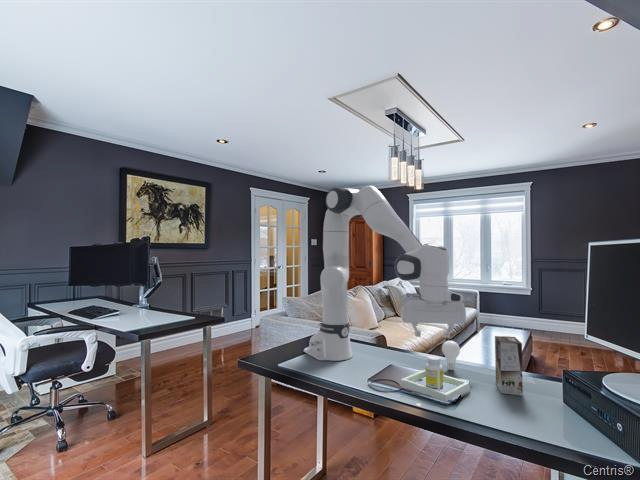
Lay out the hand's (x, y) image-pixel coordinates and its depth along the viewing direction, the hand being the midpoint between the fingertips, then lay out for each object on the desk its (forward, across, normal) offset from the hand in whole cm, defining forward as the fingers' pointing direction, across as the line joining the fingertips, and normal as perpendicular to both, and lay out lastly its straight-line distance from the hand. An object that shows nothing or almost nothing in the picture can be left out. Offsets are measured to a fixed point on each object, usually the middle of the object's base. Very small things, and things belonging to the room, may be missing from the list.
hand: (432, 336), depth 110 cm
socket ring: (+18, -14, +4) cm, 23 cm away
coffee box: (+16, +26, +1) cm, 30 cm away
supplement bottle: (+17, +1, 0) cm, 17 cm away
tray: (+17, +1, 0) cm, 17 cm away
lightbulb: (+17, +13, +18) cm, 28 cm away
